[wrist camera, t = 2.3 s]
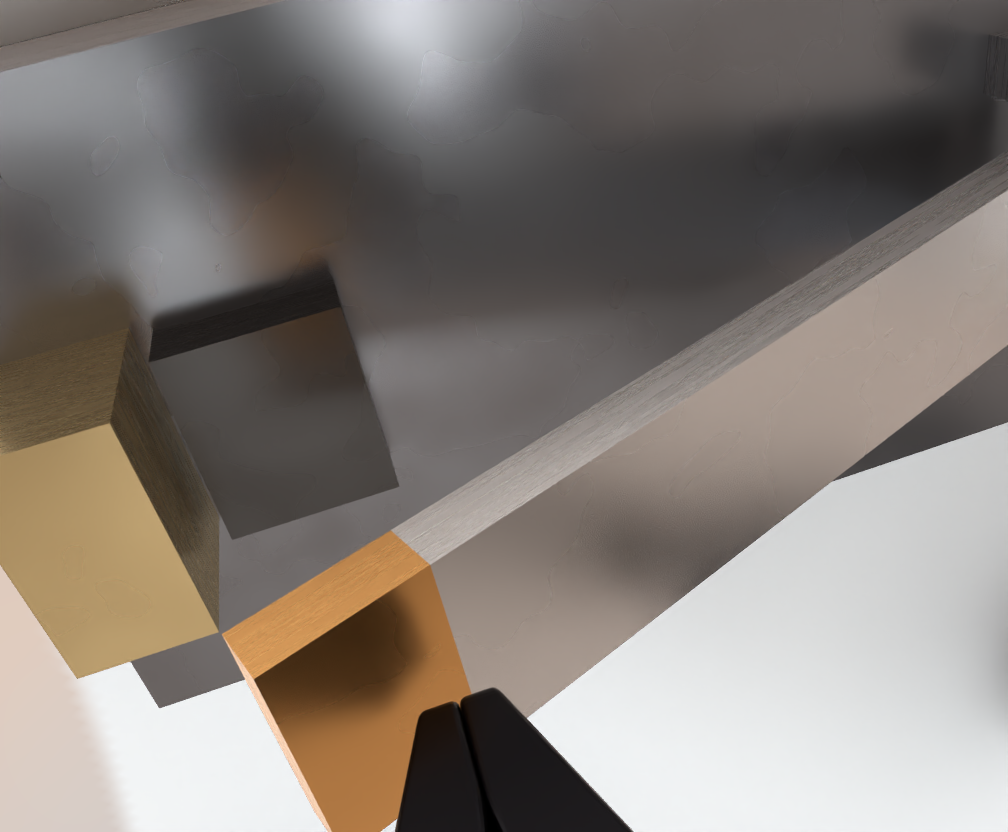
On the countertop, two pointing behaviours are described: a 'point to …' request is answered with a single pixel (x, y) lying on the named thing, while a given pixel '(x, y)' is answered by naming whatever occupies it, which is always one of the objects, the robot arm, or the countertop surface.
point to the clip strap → (624, 503)
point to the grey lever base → (409, 262)
